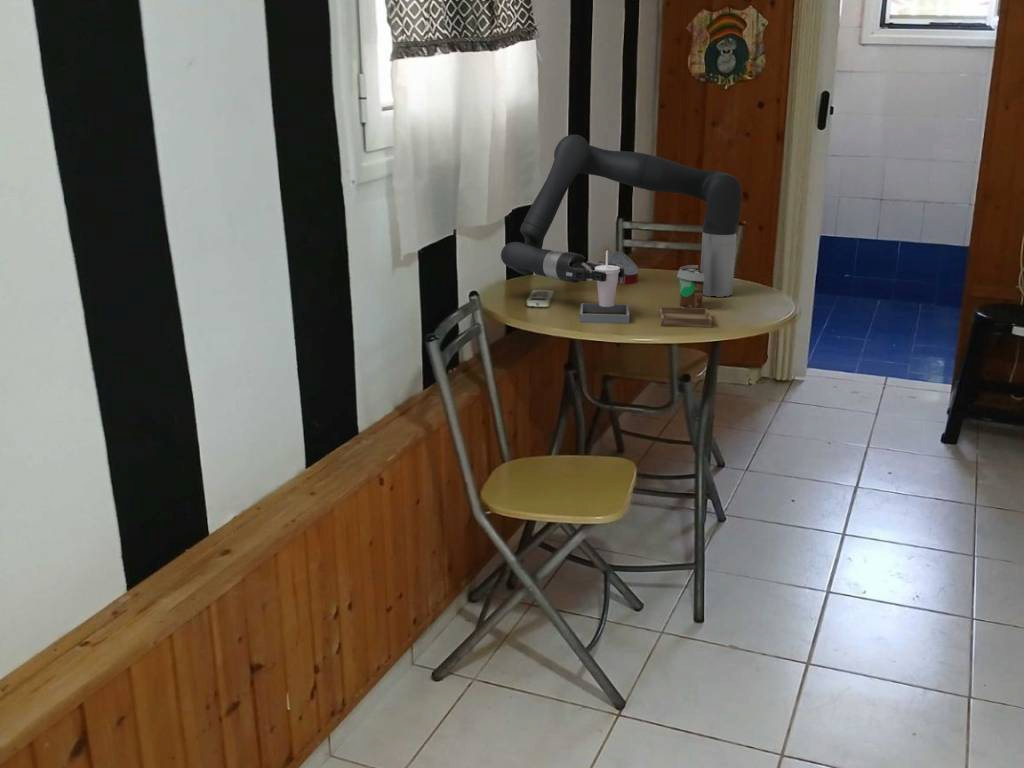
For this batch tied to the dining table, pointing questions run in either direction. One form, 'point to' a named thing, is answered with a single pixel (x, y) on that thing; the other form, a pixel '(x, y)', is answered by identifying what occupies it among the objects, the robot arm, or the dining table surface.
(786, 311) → the dining table surface
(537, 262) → the robot arm
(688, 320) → the walnut tray
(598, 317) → the grey square frame
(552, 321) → the dining table surface
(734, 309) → the dining table surface
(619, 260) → the canned food
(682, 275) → the food container
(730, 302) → the dining table surface
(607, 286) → the smoothie
